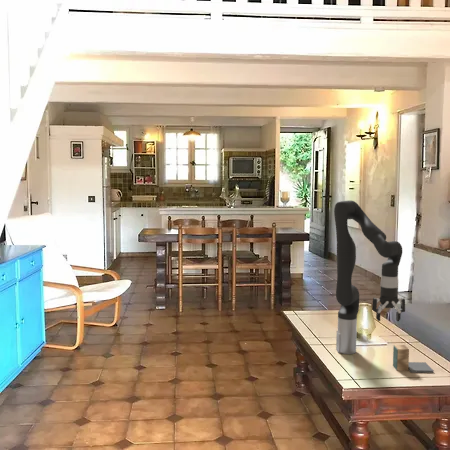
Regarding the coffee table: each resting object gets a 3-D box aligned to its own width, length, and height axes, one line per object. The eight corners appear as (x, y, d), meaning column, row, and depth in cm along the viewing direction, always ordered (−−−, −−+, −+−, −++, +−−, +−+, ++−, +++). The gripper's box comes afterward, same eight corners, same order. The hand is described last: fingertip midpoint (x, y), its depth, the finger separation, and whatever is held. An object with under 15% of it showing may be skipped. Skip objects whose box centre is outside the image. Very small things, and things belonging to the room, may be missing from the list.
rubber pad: (410, 372, 229) (411, 370, 229) (403, 364, 239) (403, 362, 239) (433, 372, 229) (433, 370, 228) (425, 364, 238) (425, 362, 238)
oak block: (396, 370, 231) (397, 349, 230) (392, 365, 237) (393, 344, 236) (408, 370, 231) (409, 349, 230) (404, 365, 237) (404, 344, 236)
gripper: (375, 287, 227) (374, 323, 228) (408, 287, 226) (406, 323, 228) (371, 283, 234) (370, 318, 236) (402, 283, 234) (401, 318, 236)
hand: (388, 320), depth 232 cm, fingers open, 8 cm apart
